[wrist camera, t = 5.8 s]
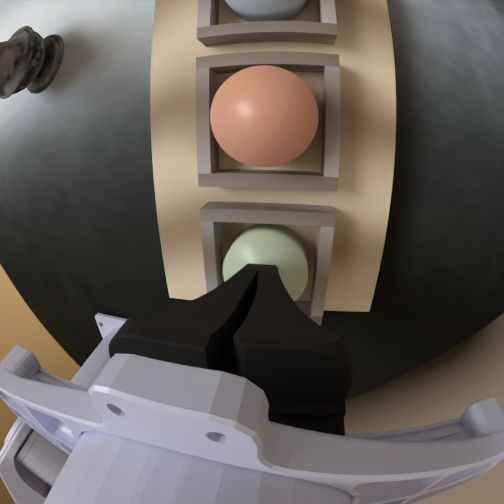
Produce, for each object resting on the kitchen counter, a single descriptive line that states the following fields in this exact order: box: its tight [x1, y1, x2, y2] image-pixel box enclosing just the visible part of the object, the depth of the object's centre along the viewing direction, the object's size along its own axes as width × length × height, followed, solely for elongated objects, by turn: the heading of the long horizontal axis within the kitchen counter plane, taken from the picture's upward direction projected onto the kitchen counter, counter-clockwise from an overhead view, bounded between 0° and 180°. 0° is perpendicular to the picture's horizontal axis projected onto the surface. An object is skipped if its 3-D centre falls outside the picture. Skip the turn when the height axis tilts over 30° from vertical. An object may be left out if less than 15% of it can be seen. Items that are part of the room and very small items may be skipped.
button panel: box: [150, 0, 396, 326], centre depth 12 cm, size 20×12×3 cm, turn 0°
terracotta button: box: [210, 65, 318, 167], centre depth 10 cm, size 4×4×2 cm
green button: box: [223, 223, 308, 301], centre depth 13 cm, size 4×4×2 cm
